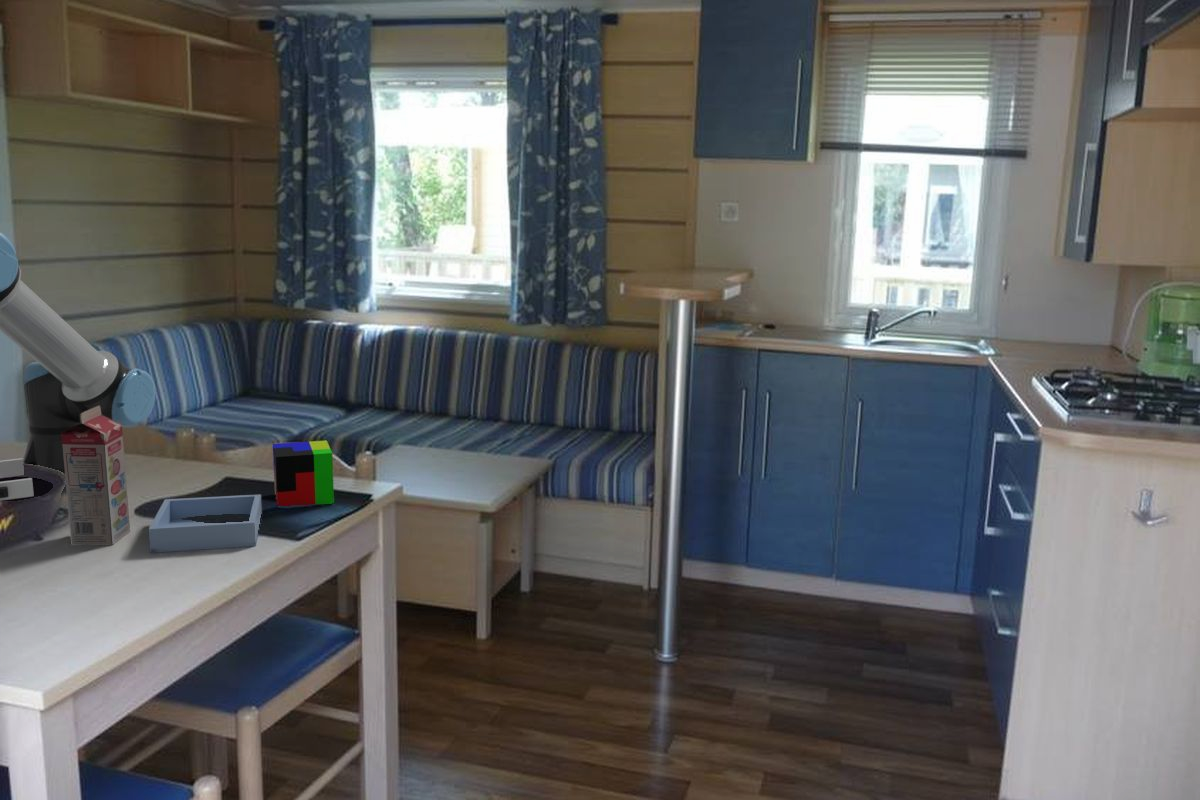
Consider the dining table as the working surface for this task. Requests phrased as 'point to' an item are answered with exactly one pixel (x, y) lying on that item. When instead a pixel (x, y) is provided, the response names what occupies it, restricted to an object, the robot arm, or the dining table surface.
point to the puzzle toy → (303, 473)
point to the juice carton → (96, 480)
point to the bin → (205, 524)
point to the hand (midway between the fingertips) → (28, 476)
